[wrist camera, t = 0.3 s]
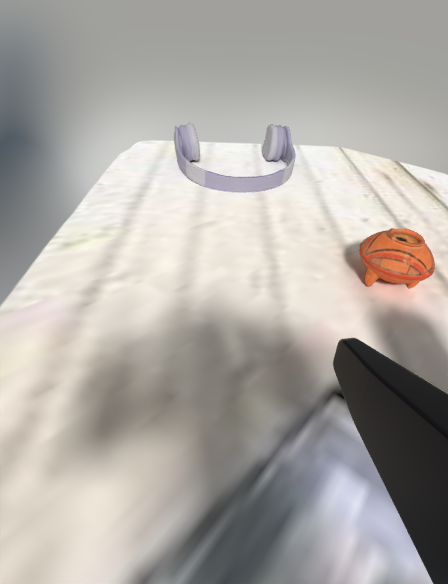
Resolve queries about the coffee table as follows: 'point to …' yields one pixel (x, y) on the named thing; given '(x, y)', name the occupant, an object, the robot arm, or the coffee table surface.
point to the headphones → (273, 149)
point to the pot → (396, 257)
